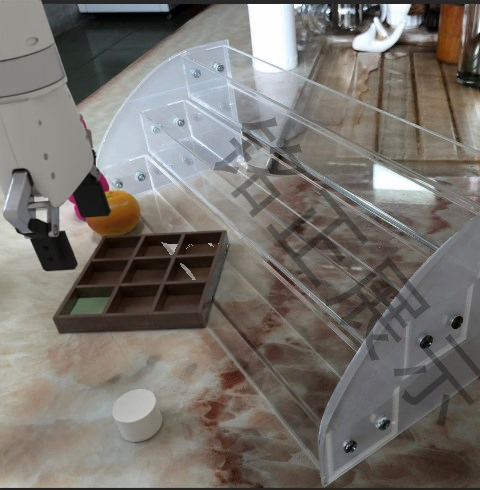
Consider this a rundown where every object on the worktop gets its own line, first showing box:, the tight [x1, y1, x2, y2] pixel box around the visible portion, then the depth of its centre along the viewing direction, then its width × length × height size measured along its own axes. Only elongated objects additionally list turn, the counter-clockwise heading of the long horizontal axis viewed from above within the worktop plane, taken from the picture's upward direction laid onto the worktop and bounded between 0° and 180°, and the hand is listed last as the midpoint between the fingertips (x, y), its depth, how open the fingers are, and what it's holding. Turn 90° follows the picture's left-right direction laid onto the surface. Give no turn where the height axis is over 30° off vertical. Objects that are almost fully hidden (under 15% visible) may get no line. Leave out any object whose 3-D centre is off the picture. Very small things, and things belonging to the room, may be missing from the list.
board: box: [52, 229, 230, 334], centre depth 86 cm, size 20×20×3 cm
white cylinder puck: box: [111, 388, 163, 443], centre depth 64 cm, size 5×5×3 cm
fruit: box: [85, 189, 141, 237], centre depth 98 cm, size 8×8×8 cm
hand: (80, 240), depth 60 cm, fingers open, 9 cm apart
